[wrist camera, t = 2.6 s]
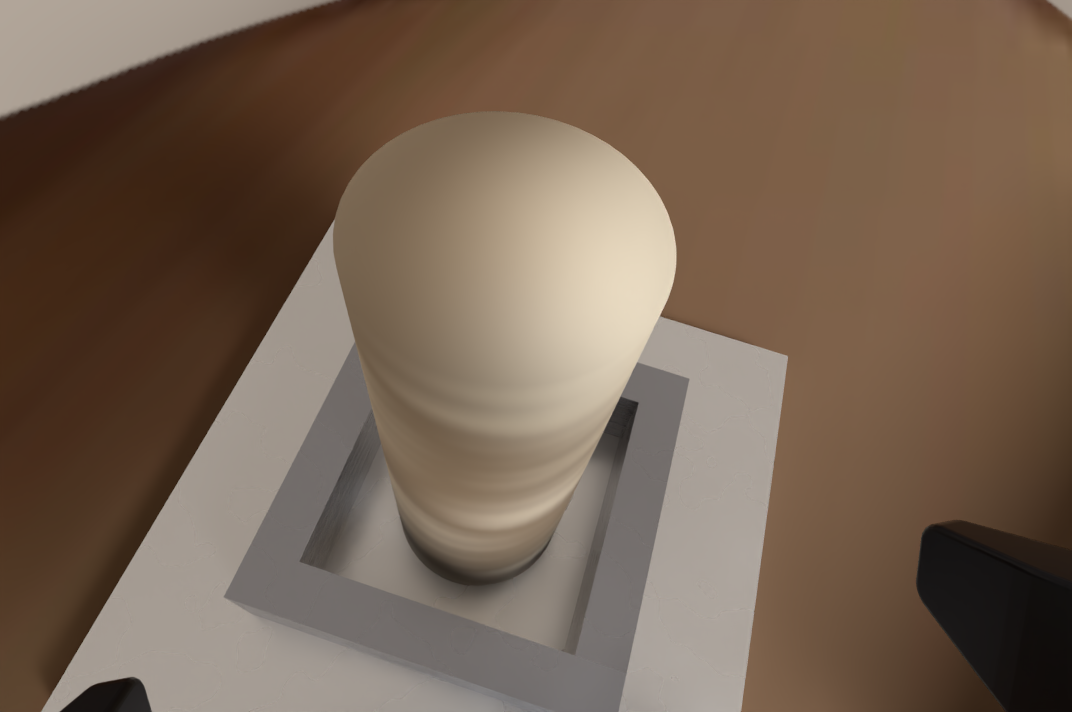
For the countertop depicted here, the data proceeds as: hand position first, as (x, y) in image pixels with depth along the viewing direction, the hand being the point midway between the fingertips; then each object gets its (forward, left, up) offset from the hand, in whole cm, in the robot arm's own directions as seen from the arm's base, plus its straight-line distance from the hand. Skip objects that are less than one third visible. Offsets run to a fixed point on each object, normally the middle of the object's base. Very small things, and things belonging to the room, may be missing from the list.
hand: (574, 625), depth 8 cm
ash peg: (+2, -4, -11) cm, 12 cm away
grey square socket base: (+2, -4, -12) cm, 13 cm away
